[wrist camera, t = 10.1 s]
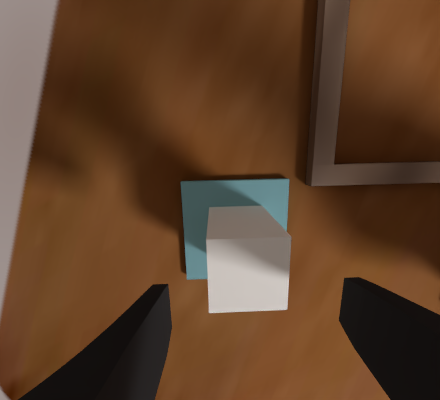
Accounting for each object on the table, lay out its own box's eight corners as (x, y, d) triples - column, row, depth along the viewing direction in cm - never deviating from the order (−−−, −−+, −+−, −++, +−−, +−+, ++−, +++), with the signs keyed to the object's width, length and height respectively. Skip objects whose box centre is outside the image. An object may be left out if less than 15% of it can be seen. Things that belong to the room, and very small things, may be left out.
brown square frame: (557, -59, 13) (586, -77, 12) (493, 179, 16) (511, 180, 15) (322, -59, 12) (331, -77, 11) (305, 184, 16) (311, 186, 15)
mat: (286, 178, 16) (289, 179, 15) (281, 271, 17) (284, 275, 17) (181, 181, 15) (180, 182, 15) (187, 275, 17) (187, 279, 17)
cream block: (261, 205, 15) (291, 237, 10) (260, 253, 16) (287, 309, 10) (209, 207, 15) (206, 239, 9) (210, 255, 16) (209, 312, 10)
